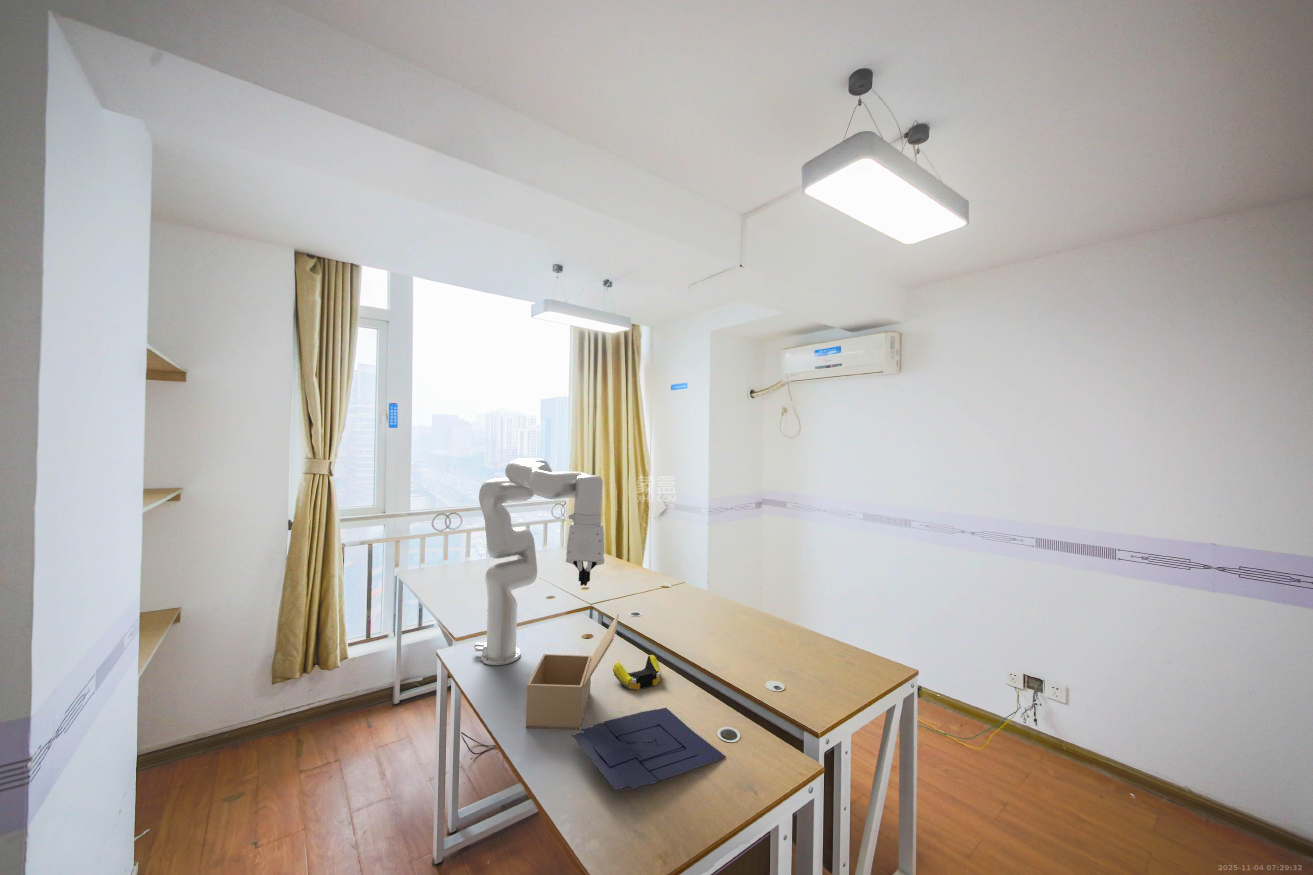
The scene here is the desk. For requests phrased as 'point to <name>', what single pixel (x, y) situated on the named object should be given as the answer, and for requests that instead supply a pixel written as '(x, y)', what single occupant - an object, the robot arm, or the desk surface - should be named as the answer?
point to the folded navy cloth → (645, 748)
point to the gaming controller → (639, 675)
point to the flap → (601, 649)
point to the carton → (558, 692)
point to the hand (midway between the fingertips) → (584, 583)
